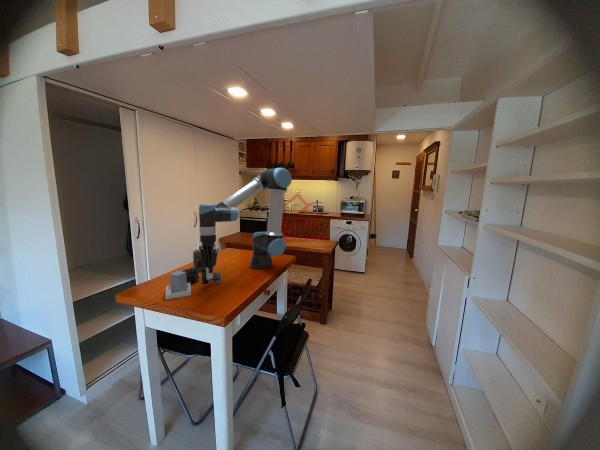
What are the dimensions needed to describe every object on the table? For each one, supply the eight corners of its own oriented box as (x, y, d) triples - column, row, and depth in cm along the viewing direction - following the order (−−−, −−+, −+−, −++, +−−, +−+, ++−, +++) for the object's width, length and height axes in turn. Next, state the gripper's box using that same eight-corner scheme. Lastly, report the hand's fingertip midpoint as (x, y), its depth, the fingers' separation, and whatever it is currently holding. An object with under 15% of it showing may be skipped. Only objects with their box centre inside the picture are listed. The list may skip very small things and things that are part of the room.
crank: (217, 277, 128) (216, 262, 127) (222, 278, 126) (221, 264, 125) (199, 284, 117) (198, 269, 116) (204, 286, 116) (203, 270, 114)
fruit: (167, 282, 121) (192, 283, 119) (169, 267, 123) (194, 267, 120) (178, 282, 130) (202, 282, 127) (180, 267, 131) (203, 268, 129)
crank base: (220, 280, 129) (220, 272, 129) (222, 283, 125) (221, 275, 124) (203, 282, 125) (202, 274, 124) (204, 286, 120) (203, 277, 120)
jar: (208, 273, 139) (208, 250, 137) (190, 272, 140) (189, 249, 137) (216, 267, 151) (215, 245, 149) (199, 266, 151) (198, 245, 149)
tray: (190, 287, 119) (190, 282, 119) (191, 295, 110) (190, 290, 109) (166, 290, 114) (166, 286, 114) (165, 300, 105) (165, 295, 104)
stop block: (179, 289, 115) (178, 270, 113) (187, 290, 114) (186, 272, 112) (171, 293, 110) (170, 274, 109) (179, 295, 109) (178, 275, 107)
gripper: (222, 234, 113) (223, 278, 116) (206, 232, 120) (207, 274, 123) (210, 236, 107) (211, 283, 110) (193, 234, 113) (195, 278, 116)
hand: (209, 278), depth 116 cm, fingers closed
